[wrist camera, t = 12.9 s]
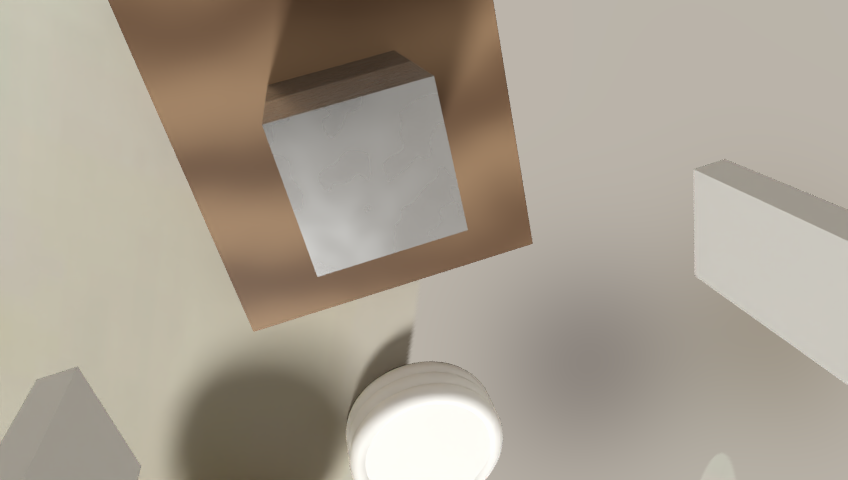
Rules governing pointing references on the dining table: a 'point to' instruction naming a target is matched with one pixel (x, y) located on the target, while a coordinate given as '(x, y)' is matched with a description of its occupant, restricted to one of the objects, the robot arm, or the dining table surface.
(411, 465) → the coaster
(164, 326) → the dining table surface
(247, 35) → the cutting board
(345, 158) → the block
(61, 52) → the dining table surface
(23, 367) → the dining table surface
